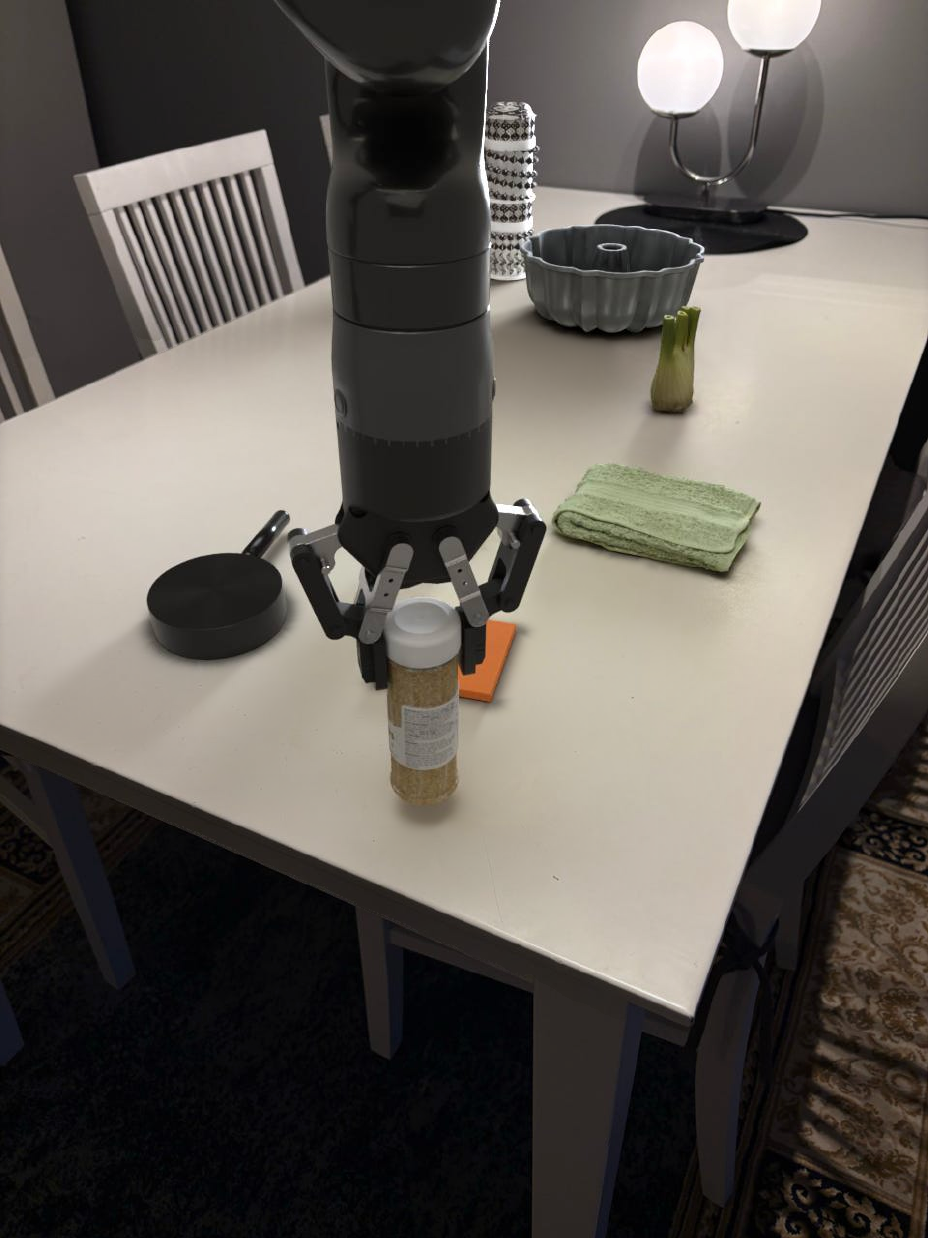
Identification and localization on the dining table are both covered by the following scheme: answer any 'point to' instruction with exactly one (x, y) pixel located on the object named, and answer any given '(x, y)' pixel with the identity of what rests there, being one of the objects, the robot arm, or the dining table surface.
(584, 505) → the washcloth
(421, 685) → the sprinkles bottle
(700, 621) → the dining table surface
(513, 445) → the dining table surface
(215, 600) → the pan
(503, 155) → the decorative candle
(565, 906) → the dining table surface
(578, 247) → the bundt pan
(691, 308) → the fennel bulb
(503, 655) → the orange square coaster
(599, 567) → the dining table surface
